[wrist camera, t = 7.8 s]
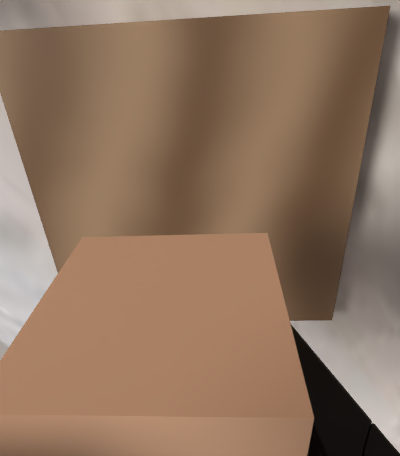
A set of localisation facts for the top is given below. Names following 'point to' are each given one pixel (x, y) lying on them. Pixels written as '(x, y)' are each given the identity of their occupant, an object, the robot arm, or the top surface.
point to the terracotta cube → (158, 354)
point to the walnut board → (201, 132)
